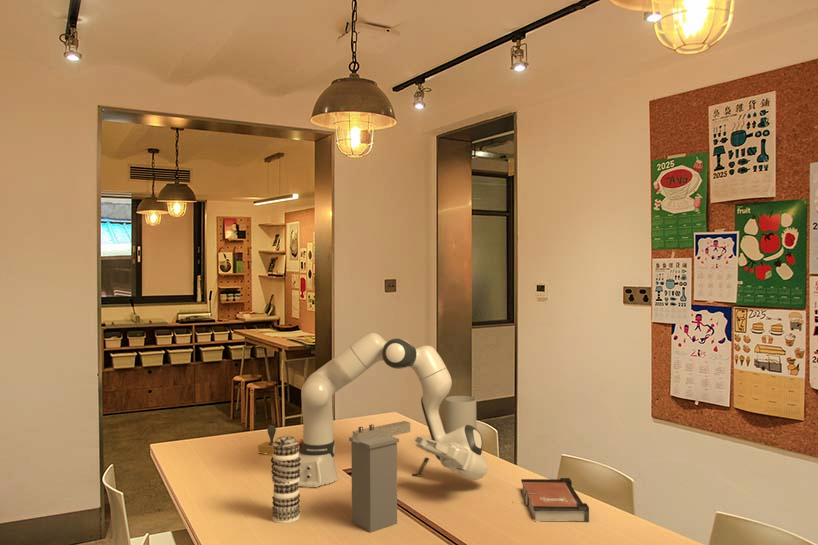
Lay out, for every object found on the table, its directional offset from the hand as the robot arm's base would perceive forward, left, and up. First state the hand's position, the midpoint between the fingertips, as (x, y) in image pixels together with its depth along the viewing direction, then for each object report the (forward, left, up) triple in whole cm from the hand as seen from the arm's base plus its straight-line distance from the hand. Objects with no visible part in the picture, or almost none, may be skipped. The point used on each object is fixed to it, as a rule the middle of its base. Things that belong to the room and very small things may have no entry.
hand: (425, 441), depth 200 cm
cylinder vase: (+16, +48, -21) cm, 55 cm away
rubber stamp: (-64, +59, -21) cm, 90 cm away
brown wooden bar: (-14, -11, +5) cm, 19 cm away
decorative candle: (-44, -9, -21) cm, 50 cm away
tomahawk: (+1, +38, -22) cm, 44 cm away
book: (+41, 0, -22) cm, 47 cm away
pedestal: (-16, -13, -21) cm, 30 cm away
